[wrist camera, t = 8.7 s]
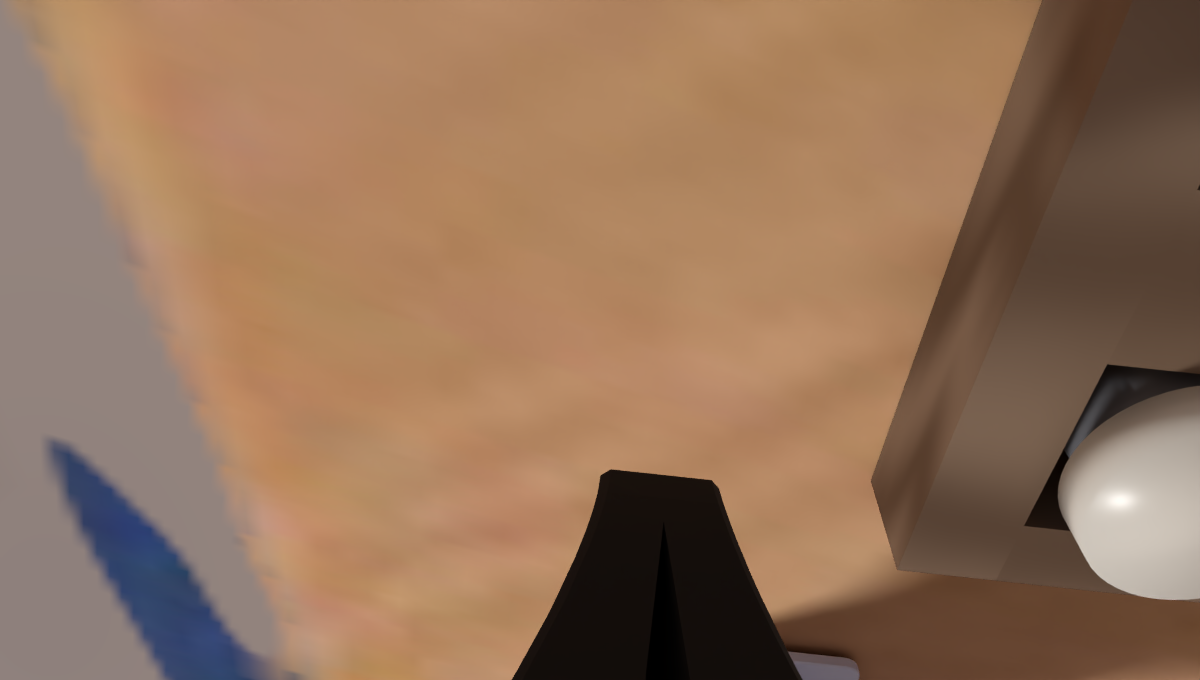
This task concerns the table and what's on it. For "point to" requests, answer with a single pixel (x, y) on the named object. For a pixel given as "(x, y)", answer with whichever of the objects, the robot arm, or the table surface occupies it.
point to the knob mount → (1052, 292)
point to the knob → (1138, 482)
